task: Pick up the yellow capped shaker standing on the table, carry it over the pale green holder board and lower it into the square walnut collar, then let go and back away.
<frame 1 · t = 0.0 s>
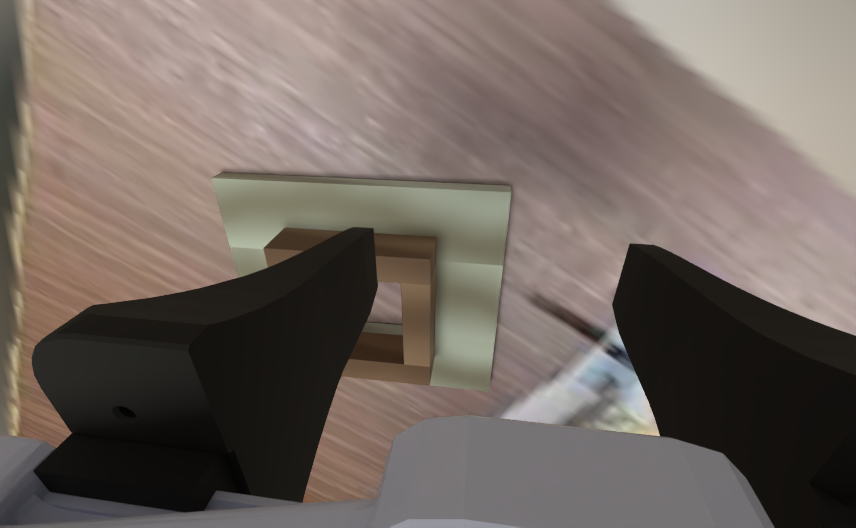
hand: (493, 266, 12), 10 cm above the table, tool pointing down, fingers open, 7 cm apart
holder: (369, 287, 25), on the table
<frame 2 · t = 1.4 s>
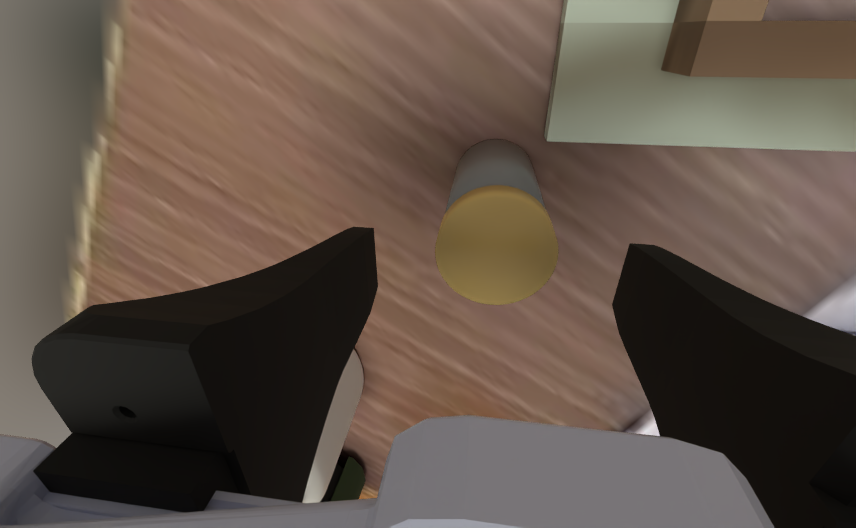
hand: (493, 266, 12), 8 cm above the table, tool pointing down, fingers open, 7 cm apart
yellow capped shaker: (493, 178, 19), on the table
eye dropper bottle: (339, 362, 26), on the table
character mug: (330, 461, 32), on the table
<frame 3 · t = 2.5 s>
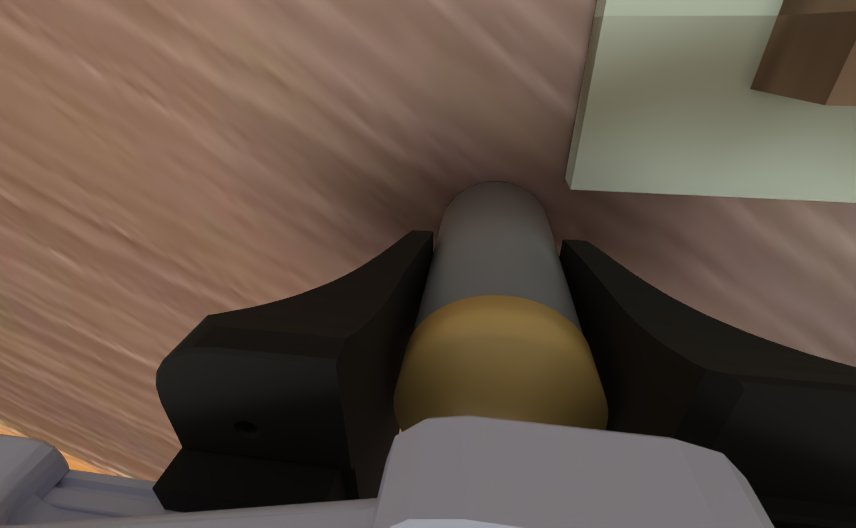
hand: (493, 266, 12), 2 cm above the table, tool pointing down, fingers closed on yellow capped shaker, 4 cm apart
yellow capped shaker: (493, 233, 13), on the table, touching gripper
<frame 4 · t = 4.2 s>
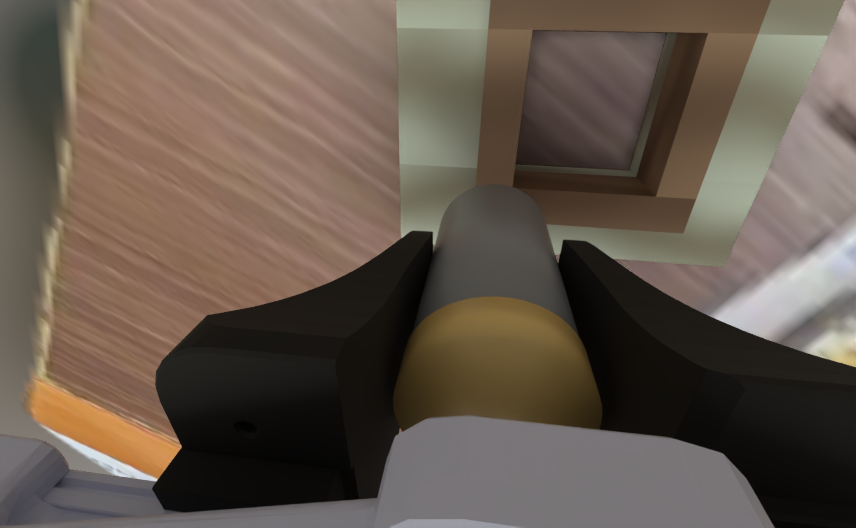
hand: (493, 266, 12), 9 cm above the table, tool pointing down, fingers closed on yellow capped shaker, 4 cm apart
yellow capped shaker: (491, 234, 14), point 7 cm above the table, touching gripper
holder: (580, 104, 18), on the table
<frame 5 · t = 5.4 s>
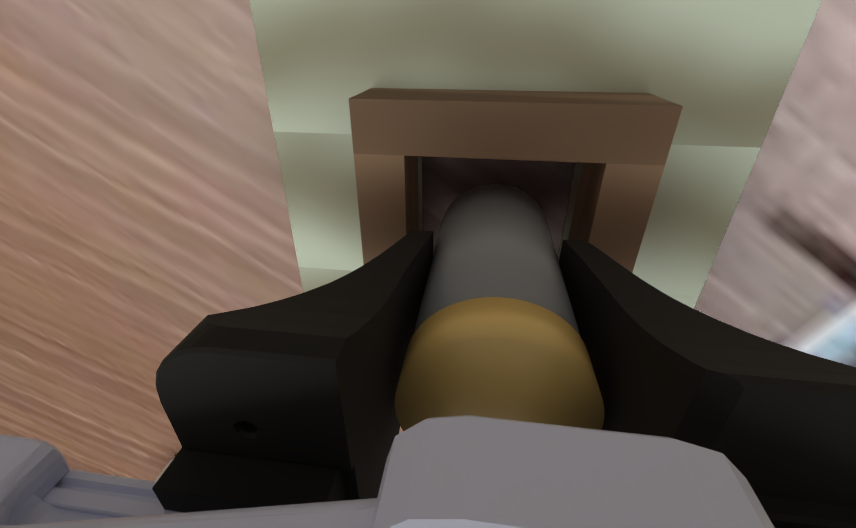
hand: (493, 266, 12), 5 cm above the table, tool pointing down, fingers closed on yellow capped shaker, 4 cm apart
yellow capped shaker: (492, 235, 14), point 2 cm above the table, touching gripper
holder: (493, 206, 16), on the table
when the fingers open (4 cm above the table, at t = 5.9 s): yellow capped shaker drops 2 cm, resting in holder.
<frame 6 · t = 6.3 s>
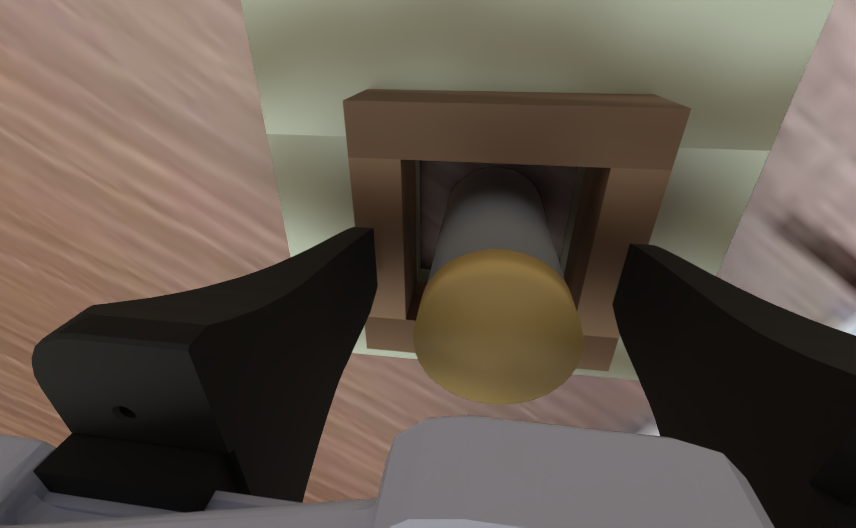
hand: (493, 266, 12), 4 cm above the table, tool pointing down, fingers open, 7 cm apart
yellow capped shaker: (493, 213, 15), resting in holder
holder: (493, 210, 15), on the table
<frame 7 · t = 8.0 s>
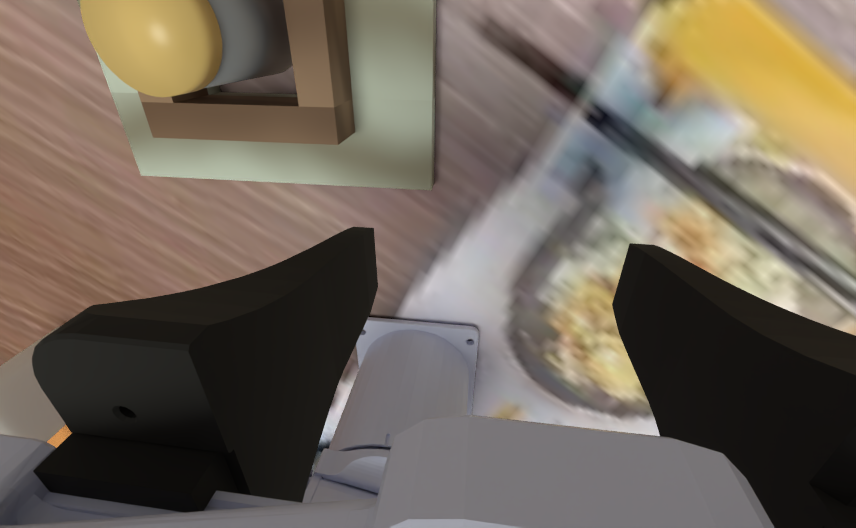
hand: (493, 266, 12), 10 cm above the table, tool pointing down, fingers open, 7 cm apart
yellow capped shaker: (263, 31, 18), resting in holder
eye dropper bottle: (93, 348, 32), on the table
holder: (262, 27, 18), on the table
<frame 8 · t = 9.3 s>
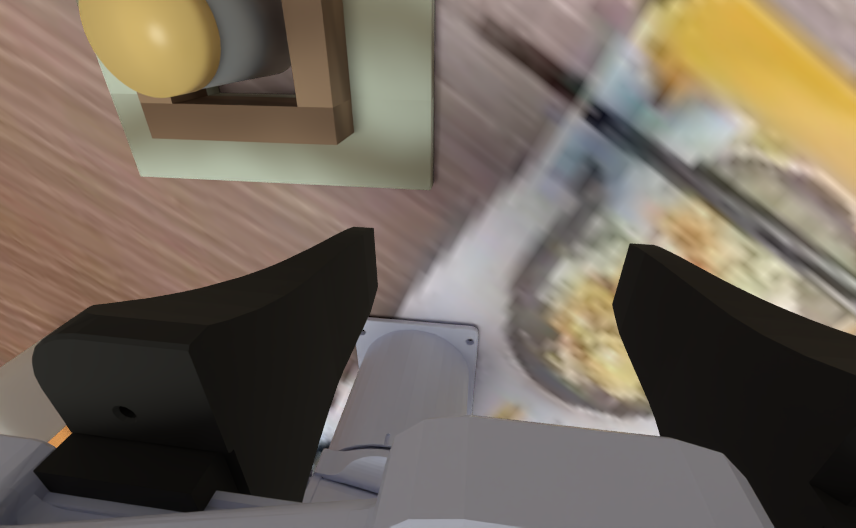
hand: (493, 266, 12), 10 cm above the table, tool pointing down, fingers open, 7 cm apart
yellow capped shaker: (262, 31, 18), resting in holder
eye dropper bottle: (94, 349, 32), on the table
holder: (260, 28, 18), on the table
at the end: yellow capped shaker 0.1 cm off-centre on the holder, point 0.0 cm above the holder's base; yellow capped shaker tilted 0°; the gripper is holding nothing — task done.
